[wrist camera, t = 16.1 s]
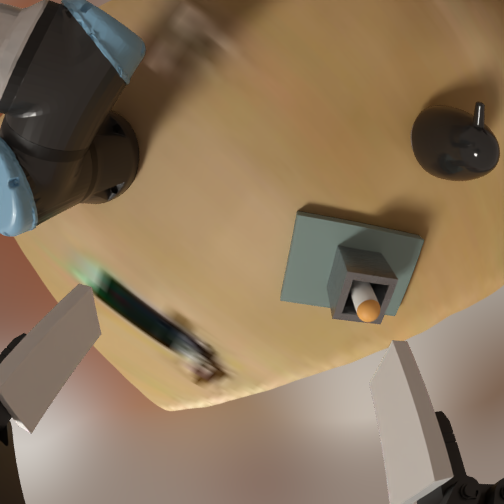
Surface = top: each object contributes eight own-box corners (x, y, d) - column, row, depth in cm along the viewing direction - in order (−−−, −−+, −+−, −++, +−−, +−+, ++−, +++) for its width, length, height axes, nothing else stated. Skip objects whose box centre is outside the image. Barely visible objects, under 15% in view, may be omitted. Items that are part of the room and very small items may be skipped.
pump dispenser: (452, 105, 31) (516, 105, 17) (460, 171, 35) (520, 196, 21) (396, 105, 33) (449, 99, 19) (405, 176, 37) (458, 203, 23)
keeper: (280, 293, 47) (277, 350, 35) (297, 210, 41) (301, 248, 29) (391, 309, 46) (415, 362, 34) (419, 235, 40) (459, 276, 28)
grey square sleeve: (326, 287, 44) (332, 318, 36) (337, 245, 41) (347, 271, 33) (368, 293, 43) (380, 324, 36) (381, 253, 40) (398, 279, 33)
